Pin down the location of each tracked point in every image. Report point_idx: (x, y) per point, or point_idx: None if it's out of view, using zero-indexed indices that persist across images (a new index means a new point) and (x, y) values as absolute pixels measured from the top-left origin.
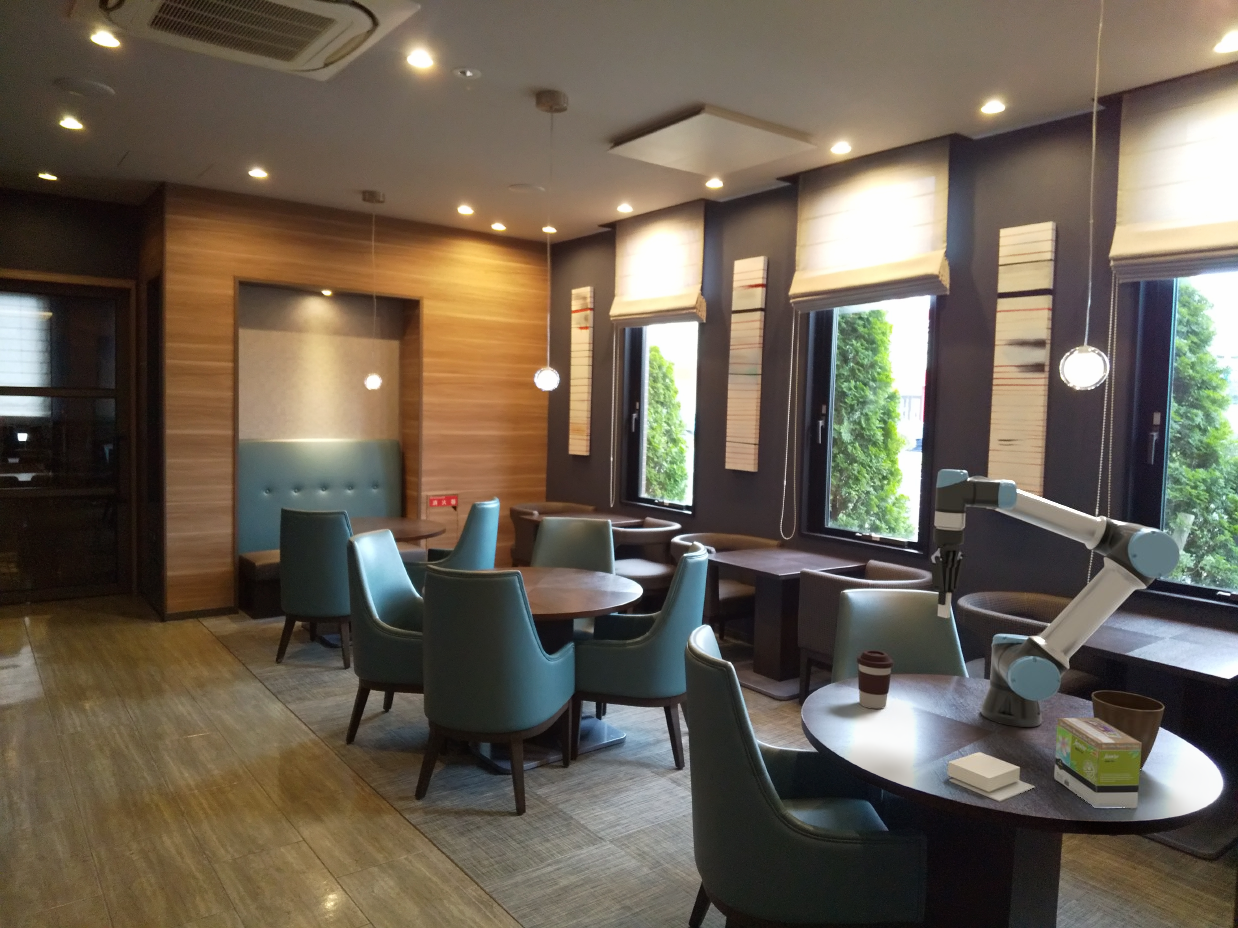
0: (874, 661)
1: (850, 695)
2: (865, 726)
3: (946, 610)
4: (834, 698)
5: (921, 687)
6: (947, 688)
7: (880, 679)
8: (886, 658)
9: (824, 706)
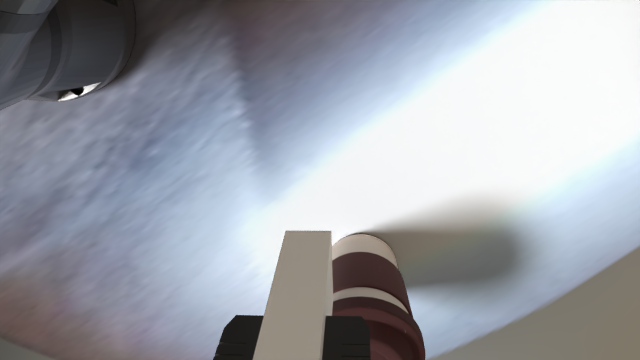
0: (404, 337)
1: None
2: (534, 167)
3: (326, 271)
4: None
5: (112, 287)
6: (44, 252)
7: (386, 282)
8: None
9: (489, 308)
